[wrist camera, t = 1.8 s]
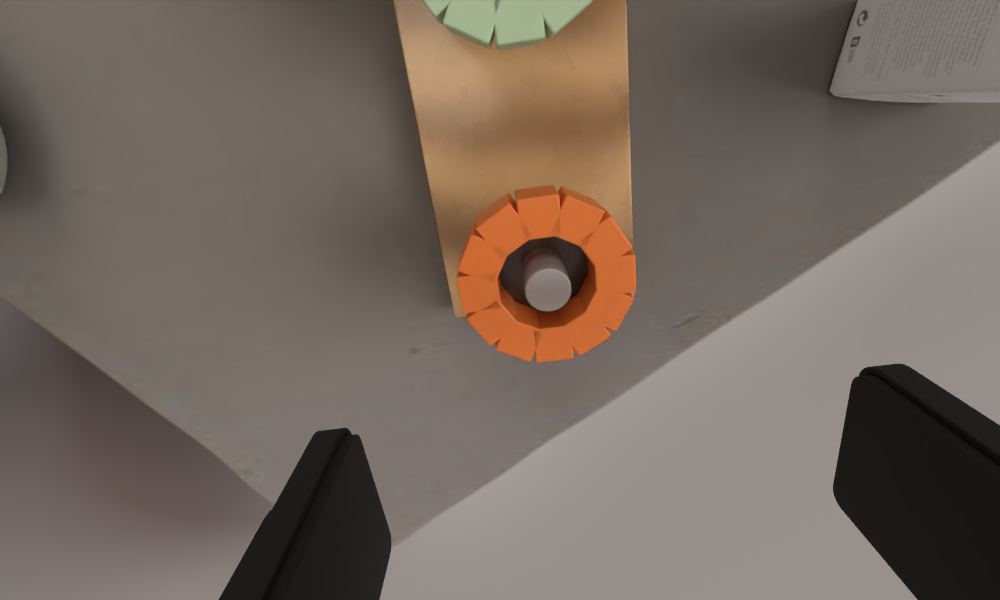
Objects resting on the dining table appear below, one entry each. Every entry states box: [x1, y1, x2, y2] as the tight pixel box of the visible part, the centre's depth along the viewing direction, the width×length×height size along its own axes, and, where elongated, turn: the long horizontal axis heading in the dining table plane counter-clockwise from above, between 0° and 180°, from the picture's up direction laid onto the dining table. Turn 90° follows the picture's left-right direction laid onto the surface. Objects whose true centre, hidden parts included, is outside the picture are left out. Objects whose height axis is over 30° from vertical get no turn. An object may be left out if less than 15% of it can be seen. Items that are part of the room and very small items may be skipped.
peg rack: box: [393, 0, 634, 318], centre depth 20 cm, size 20×10×9 cm, turn 8°
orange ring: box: [456, 185, 636, 363], centre depth 19 cm, size 7×7×2 cm
